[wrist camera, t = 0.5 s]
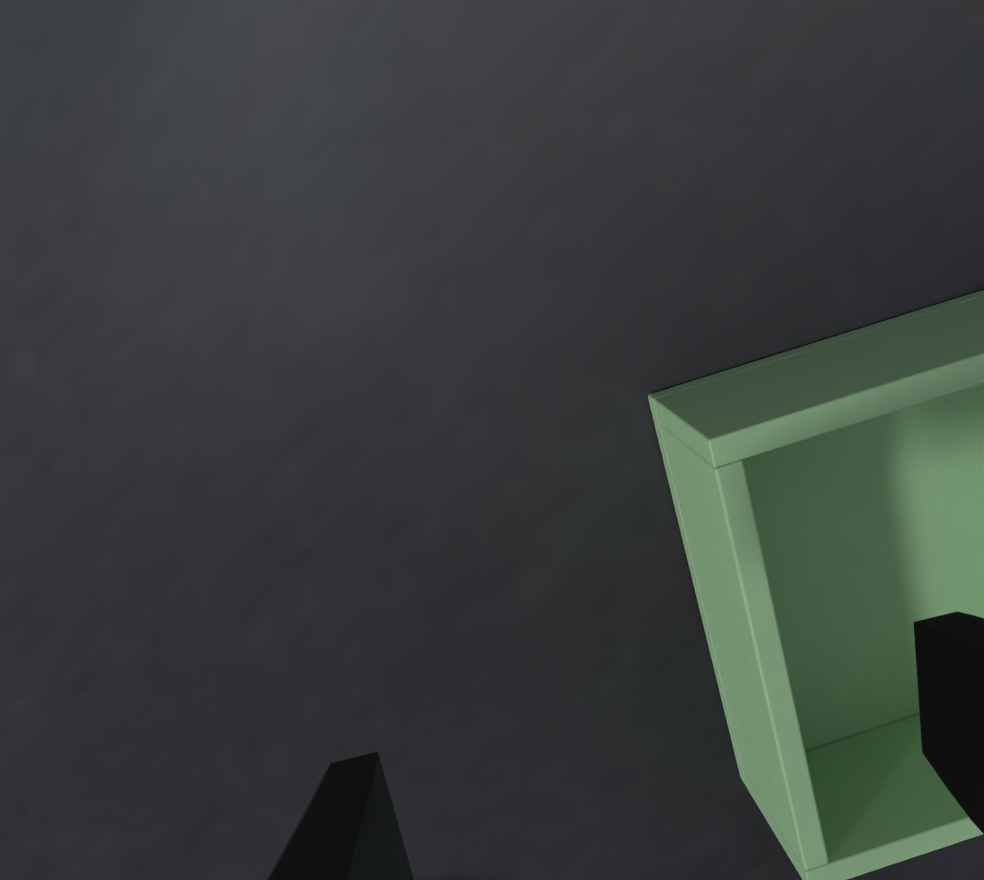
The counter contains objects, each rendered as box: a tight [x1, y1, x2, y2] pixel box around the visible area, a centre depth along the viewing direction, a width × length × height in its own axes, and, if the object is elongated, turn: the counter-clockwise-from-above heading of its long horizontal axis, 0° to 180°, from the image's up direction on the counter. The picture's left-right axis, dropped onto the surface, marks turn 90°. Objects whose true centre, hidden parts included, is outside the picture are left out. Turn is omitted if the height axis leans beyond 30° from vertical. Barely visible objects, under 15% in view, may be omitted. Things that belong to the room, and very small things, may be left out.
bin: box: [648, 290, 984, 880], centre depth 20 cm, size 11×11×4 cm
